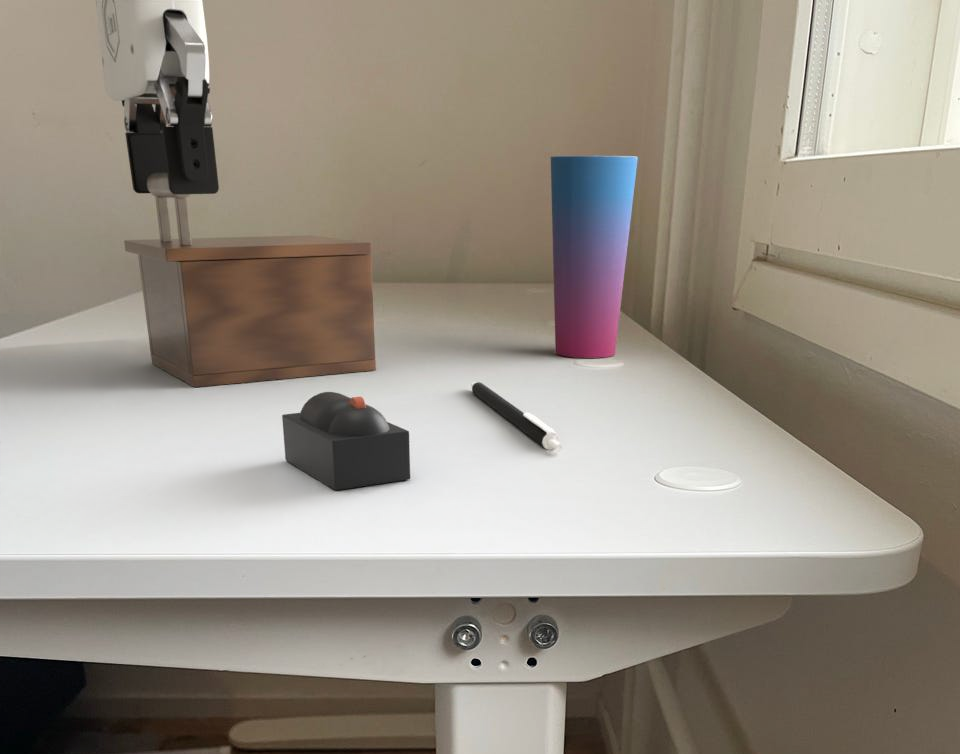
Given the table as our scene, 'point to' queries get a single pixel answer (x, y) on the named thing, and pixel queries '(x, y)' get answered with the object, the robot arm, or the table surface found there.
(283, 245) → the lid
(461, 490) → the table surface
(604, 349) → the cup
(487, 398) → the pen
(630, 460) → the table surface
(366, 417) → the domed black block
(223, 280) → the chest
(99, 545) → the table surface
